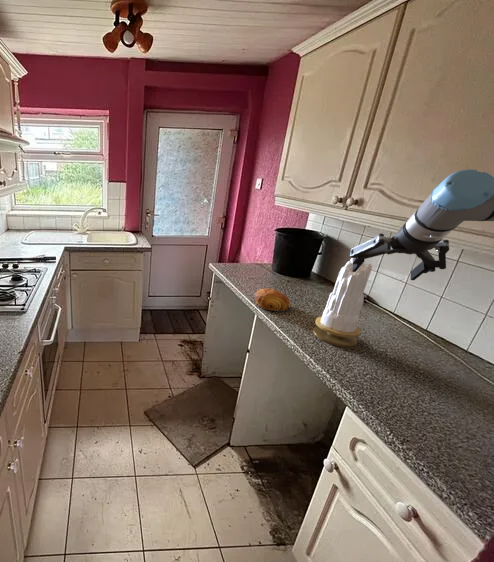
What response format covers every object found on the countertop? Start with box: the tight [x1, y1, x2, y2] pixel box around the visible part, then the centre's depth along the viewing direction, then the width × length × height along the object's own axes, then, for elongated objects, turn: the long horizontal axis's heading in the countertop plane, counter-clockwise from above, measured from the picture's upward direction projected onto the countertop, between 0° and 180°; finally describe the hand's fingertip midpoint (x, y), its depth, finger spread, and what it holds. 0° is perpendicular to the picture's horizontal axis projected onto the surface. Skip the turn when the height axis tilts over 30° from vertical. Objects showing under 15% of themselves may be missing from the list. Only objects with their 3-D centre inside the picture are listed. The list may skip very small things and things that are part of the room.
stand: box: [312, 315, 362, 348], centre depth 116 cm, size 14×14×5 cm
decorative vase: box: [321, 257, 373, 333], centre depth 110 cm, size 11×11×25 cm
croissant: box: [254, 287, 291, 312], centre depth 140 cm, size 14×16×8 cm
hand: (382, 271), depth 89 cm, fingers open, 13 cm apart
